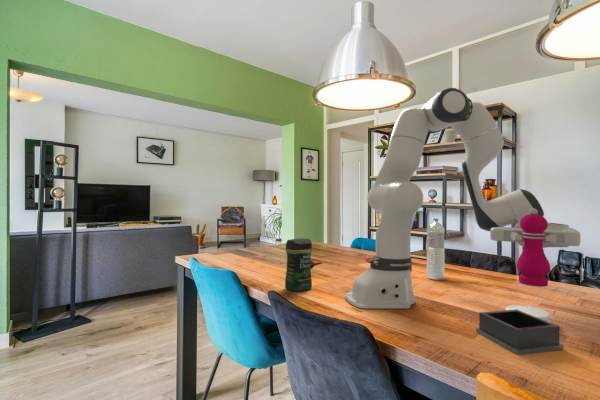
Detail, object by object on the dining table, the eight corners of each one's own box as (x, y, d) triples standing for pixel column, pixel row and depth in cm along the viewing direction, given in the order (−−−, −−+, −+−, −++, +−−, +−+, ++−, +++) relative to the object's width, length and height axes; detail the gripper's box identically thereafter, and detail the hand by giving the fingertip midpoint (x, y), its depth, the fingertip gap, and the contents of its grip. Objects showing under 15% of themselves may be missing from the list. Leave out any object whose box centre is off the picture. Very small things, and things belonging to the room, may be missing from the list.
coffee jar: (294, 293, 112) (294, 240, 112) (281, 288, 118) (281, 238, 118) (315, 289, 118) (315, 238, 118) (302, 284, 124) (302, 236, 124)
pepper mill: (550, 289, 80) (551, 208, 80) (515, 284, 84) (516, 208, 84) (549, 283, 86) (550, 208, 86) (517, 278, 90) (517, 207, 90)
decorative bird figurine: (294, 270, 148) (294, 248, 148) (324, 276, 136) (325, 253, 136) (289, 271, 146) (290, 249, 146) (320, 278, 134) (320, 254, 134)
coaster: (497, 320, 89) (497, 307, 89) (520, 314, 93) (520, 302, 93) (536, 333, 79) (536, 319, 79) (559, 327, 84) (559, 314, 84)
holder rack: (517, 354, 68) (517, 331, 68) (476, 331, 80) (476, 311, 80) (563, 349, 71) (563, 327, 71) (516, 328, 82) (516, 308, 82)
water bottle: (446, 280, 130) (446, 219, 130) (428, 280, 131) (429, 219, 131) (441, 276, 136) (442, 218, 136) (425, 276, 138) (425, 218, 137)
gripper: (490, 221, 101) (487, 224, 90) (575, 224, 90) (584, 228, 79) (490, 241, 101) (487, 247, 90) (575, 247, 90) (584, 254, 79)
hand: (533, 238), depth 84 cm, fingers closed on pepper mill, 5 cm apart
